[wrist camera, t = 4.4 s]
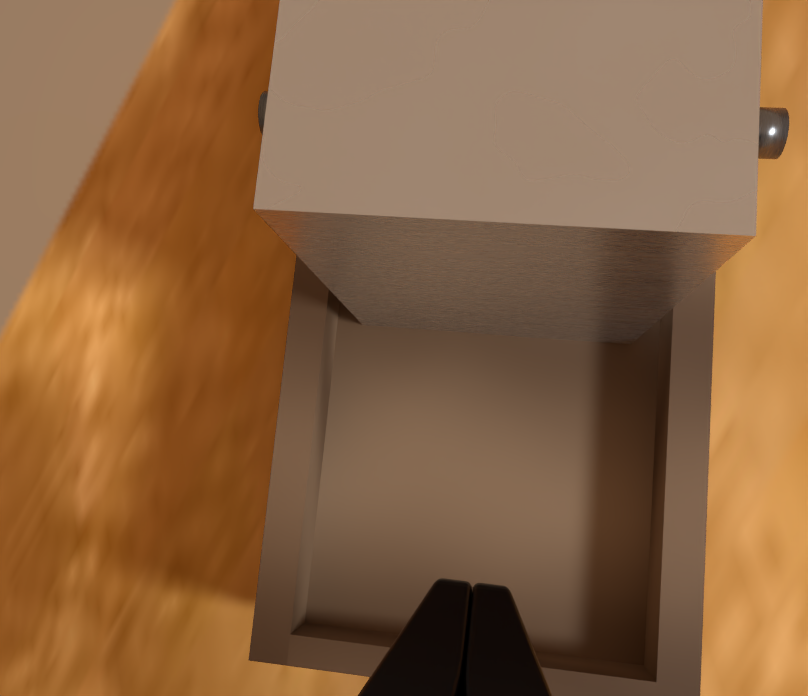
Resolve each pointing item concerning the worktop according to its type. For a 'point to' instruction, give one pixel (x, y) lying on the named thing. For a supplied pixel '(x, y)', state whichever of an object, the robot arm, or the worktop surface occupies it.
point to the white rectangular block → (513, 157)
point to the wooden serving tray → (491, 492)
